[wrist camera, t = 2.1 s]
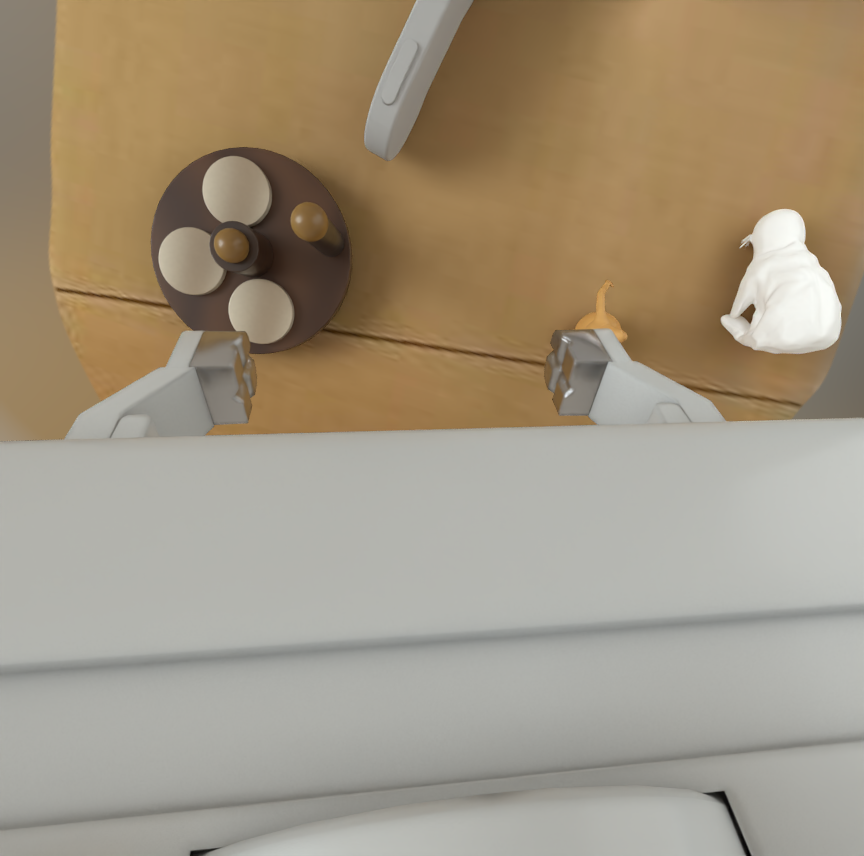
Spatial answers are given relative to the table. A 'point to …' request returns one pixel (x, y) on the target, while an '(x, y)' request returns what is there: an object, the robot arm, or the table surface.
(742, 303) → the white seated statue
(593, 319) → the figurine
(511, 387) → the table surface
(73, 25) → the table surface
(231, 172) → the brown round base
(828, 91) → the table surface
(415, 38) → the game controller
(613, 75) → the table surface
